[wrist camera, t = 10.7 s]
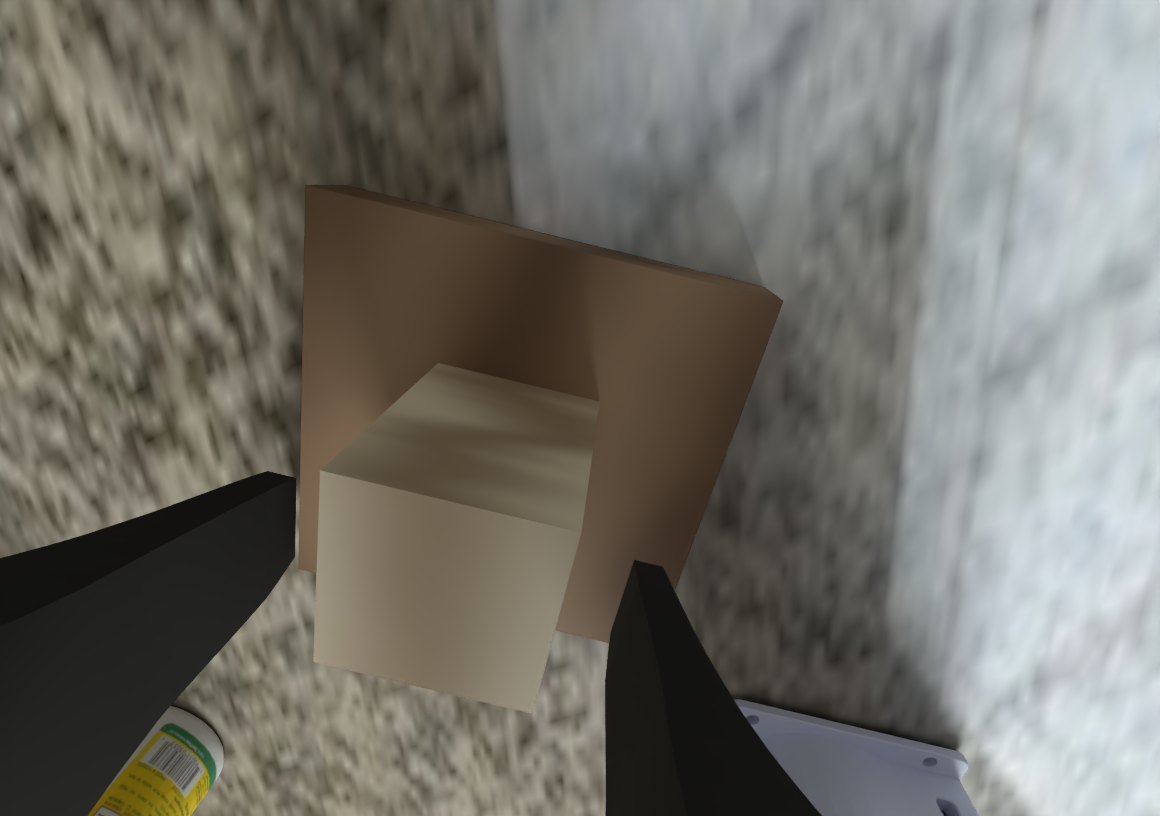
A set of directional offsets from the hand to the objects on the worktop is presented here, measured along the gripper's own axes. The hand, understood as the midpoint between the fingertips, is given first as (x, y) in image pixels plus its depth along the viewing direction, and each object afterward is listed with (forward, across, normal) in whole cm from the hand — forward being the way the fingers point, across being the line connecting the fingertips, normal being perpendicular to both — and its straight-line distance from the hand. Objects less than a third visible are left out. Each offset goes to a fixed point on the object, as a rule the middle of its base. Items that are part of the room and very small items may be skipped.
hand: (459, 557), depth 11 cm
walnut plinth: (+7, 0, 0) cm, 7 cm away
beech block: (+5, 0, 0) cm, 5 cm away
